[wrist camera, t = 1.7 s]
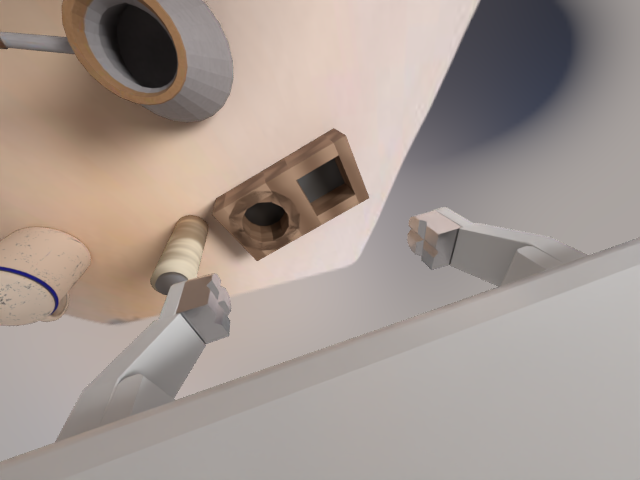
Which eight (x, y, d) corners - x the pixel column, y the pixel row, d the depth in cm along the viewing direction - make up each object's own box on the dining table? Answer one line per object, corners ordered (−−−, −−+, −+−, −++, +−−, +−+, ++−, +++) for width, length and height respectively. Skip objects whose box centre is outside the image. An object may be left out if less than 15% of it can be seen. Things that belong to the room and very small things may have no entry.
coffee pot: (224, -11, 23) (199, -104, 11) (241, 119, 29) (237, 149, 17) (-69, -52, 18) (-695, -304, 6) (30, 115, 24) (-174, 153, 13)
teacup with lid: (-14, 226, 29) (-135, 297, 20) (74, 221, 31) (2, 282, 22) (45, 292, 36) (-25, 367, 27) (114, 284, 38) (71, 351, 29)
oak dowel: (193, 210, 34) (172, 265, 24) (214, 230, 37) (202, 287, 27) (169, 224, 35) (138, 284, 25) (192, 243, 37) (171, 304, 27)
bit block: (333, 128, 33) (345, 135, 29) (356, 185, 39) (369, 197, 35) (216, 198, 34) (212, 214, 30) (256, 243, 40) (257, 261, 36)
